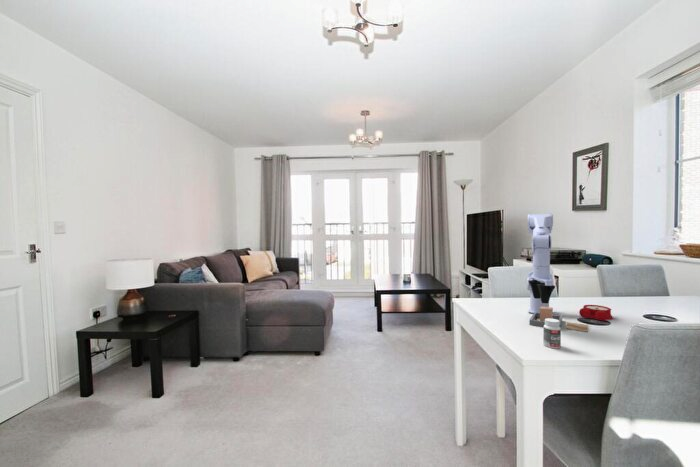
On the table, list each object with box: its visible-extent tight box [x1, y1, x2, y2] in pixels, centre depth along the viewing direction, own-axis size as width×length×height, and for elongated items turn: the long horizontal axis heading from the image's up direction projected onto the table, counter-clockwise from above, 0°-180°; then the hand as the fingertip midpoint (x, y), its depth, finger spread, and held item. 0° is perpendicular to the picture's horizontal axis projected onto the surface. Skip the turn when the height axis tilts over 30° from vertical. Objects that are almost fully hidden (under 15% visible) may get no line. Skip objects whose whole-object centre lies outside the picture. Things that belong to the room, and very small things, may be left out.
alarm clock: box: [578, 304, 614, 322], centre depth 135 cm, size 10×6×15 cm
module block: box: [539, 306, 554, 322], centre depth 128 cm, size 4×4×6 cm
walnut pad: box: [565, 321, 589, 333], centre depth 122 cm, size 9×6×1 cm
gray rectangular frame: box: [529, 312, 563, 329], centre depth 128 cm, size 14×10×2 cm
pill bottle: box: [542, 318, 562, 349], centre depth 104 cm, size 5×5×8 cm
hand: (540, 300), depth 125 cm, fingers open, 7 cm apart
